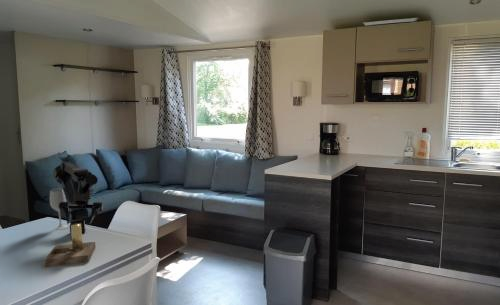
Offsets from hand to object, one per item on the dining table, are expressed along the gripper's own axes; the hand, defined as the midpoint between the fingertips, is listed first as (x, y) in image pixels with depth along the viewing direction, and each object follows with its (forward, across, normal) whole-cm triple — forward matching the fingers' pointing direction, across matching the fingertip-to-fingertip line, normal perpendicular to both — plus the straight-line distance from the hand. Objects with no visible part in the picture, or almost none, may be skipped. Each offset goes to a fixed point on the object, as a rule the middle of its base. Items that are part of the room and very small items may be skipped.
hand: (78, 224), depth 169 cm
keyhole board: (+16, -1, -3) cm, 16 cm away
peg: (+16, +2, -3) cm, 16 cm away
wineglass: (-10, -15, +33) cm, 38 cm away
